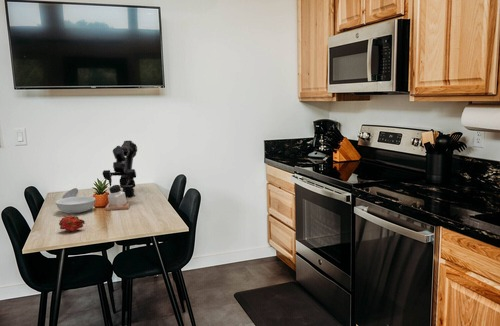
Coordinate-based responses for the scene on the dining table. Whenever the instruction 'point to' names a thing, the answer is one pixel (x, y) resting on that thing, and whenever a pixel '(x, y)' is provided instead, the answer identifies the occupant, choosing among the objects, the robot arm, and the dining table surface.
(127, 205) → the terracotta tray
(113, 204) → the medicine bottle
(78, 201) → the serving bowl
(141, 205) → the dining table surface
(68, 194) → the grey rounded lump
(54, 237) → the dining table surface
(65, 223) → the dragon fruit
